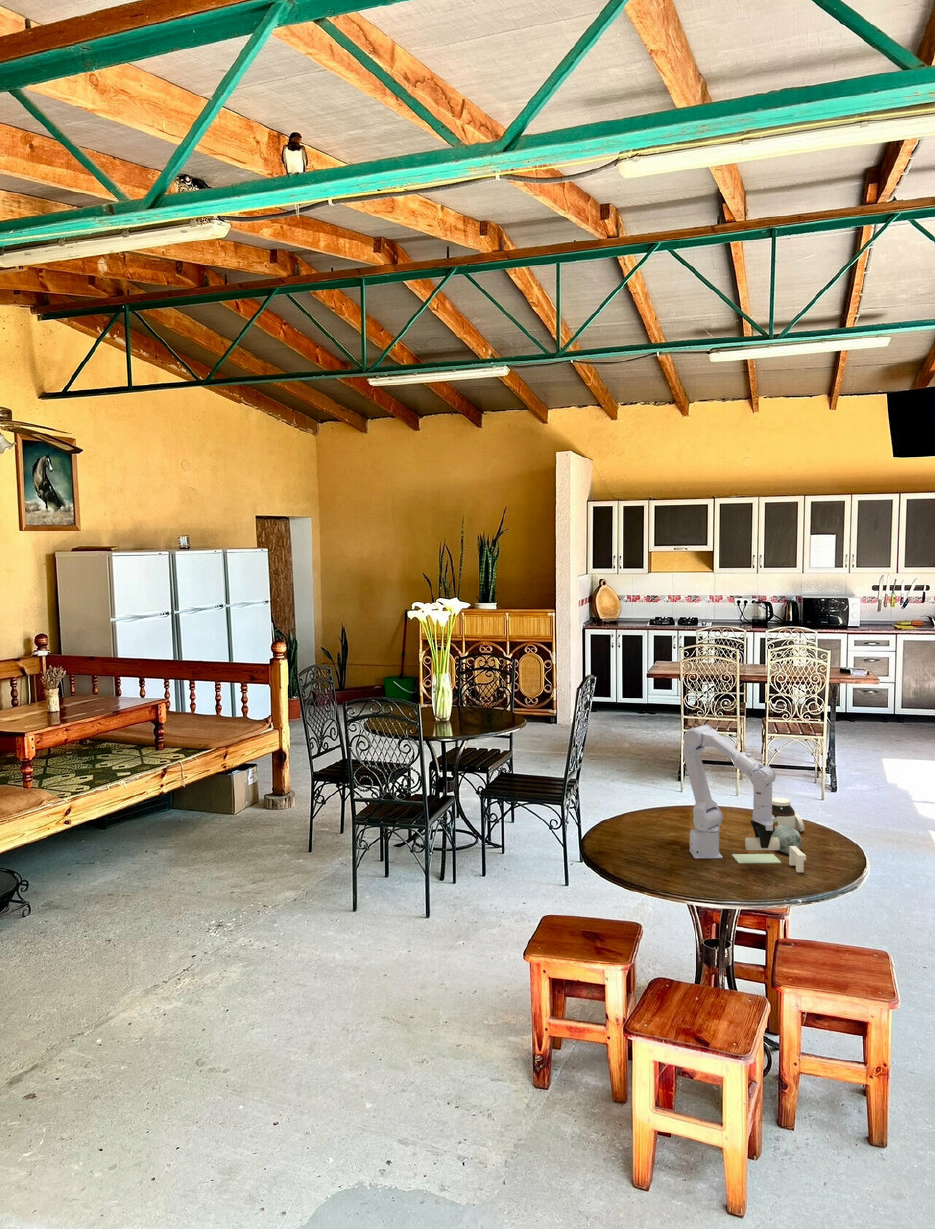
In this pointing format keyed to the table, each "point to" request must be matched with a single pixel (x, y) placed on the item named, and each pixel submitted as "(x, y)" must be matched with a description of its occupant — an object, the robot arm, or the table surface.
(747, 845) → the cylinder
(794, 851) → the cream flat notched block
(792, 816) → the spread jar
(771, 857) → the mat
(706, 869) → the table surface
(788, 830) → the mottled grey-green ovoid
